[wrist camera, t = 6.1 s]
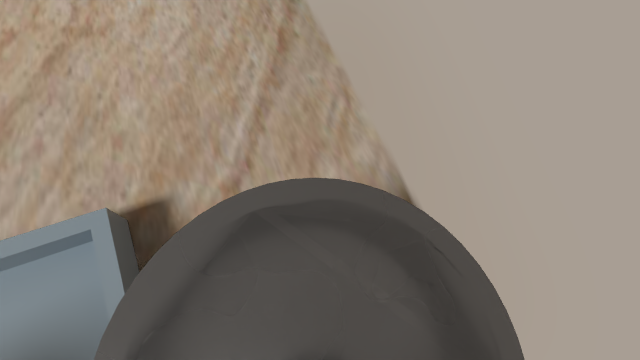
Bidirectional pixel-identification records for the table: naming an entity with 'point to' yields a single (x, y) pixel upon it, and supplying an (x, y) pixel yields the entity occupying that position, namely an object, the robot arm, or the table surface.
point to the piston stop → (311, 284)
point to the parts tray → (63, 286)
